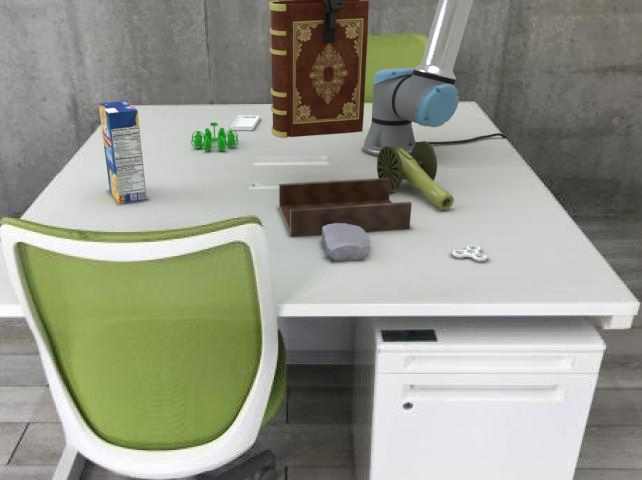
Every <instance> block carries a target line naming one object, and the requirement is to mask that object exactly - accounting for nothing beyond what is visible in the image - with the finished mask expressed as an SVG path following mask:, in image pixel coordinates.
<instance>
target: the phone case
mask: <svg viewBox="0 0 642 480" xmlns="http://www.w3.org/2000/svg"><path fill="white" fill-rule="evenodd" d="M260 117H261V116H260V115H258V114H254V115H252V114H238V115H237V117H236V118H235V119H234V121H233V122H232V123H231V125H230V130H234V131H254V130H255V128H256V126H257V125H258V123H259V122H260V120H261V119H260Z"/></svg>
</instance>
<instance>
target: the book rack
mask: <svg viewBox="0 0 642 480" xmlns="http://www.w3.org/2000/svg"><path fill="white" fill-rule="evenodd" d="M390 180H391V179H390V178H378V177H377V178H359V179H343V180H325V181H309V182H308V181H307V182H289V183H279V184H278V208H279V211H280V213H281V216H282V218H283V221H284V223H285V226H286V228H287V230H288V233H289V236H290V237H306V236H322V227H324V226H326V225H328V224H334V223H339V224H340V223H342V224H343V223H345V224H350V225H356V226H358V227H361V228H362V229H363V230H364V231H365V232H366V233H367V232H381V231H383V232H384V231H385V232H386V231H397V230H399V231H400V230H410V228H411V226H410V225H411V217H412V216H411V215H412V206H413V205H412V204H413V203H412V202H411V201H402V202H392V200H390V193H391V192H390Z"/></svg>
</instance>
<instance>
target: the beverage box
mask: <svg viewBox="0 0 642 480" xmlns="http://www.w3.org/2000/svg"><path fill="white" fill-rule="evenodd" d="M98 110H99V118H100V126H101V134H102V140H103V148H104V155H105V164H106V173H107V179H108V188H109V192H110V193H111V195H112V196H113V197H114V199H115V200H116V202H117V203H118V204H119V205H124V204H131V203H136V202H137V203H138V202H144V201H145V202H146V201H147V200H148V197H147V188H146V181H145V180H146V179H145V169H144V160H143V158H144V157H143V149H142V139H141V130H140V120H139V111H138V109H137V108H136V107H134V106H133V105H132V104H131V103H130V102H128V101H127V100H120V101H111V102H101V103H98Z"/></svg>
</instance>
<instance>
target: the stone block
mask: <svg viewBox="0 0 642 480" xmlns="http://www.w3.org/2000/svg"><path fill="white" fill-rule="evenodd" d="M321 241H322V244H323V247H324V251H325V254H326V257H327V259H329V260H330V261H331V262H337V261H339V262H344V261H359V260H362V259H364V257H365V256H366V255H367V254H368V253H369V251H370V249H371V238H370V237H369V236H368V233H367V232H365V231H364V230H363V229H362V228H361V227H358V226H356V225H350V224H345V223H343V224H342V223H340V224H339V223H334V224H328V225H326V226H324V227H322V235H321Z"/></svg>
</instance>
